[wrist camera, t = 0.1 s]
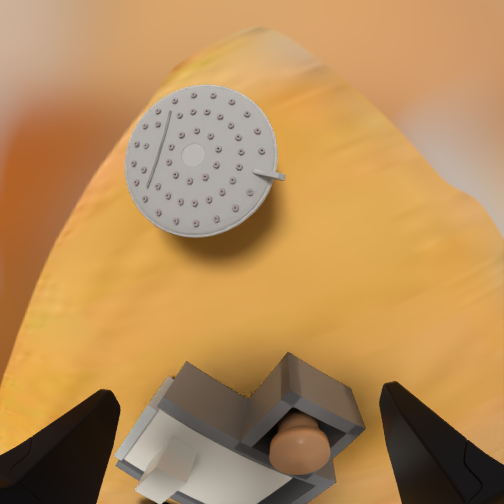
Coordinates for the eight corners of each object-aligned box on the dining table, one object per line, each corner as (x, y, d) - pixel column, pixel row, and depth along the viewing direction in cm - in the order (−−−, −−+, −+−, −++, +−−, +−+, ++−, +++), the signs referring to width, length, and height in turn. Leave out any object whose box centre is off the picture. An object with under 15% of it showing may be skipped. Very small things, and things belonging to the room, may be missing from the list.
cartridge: (241, 487, 25) (231, 544, 17) (133, 428, 25) (98, 478, 17) (292, 445, 24) (293, 510, 16) (168, 375, 24) (129, 431, 16)
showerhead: (260, 263, 16) (100, 215, 17) (266, 248, 23) (148, 214, 24) (307, 98, 15) (145, 70, 15) (299, 132, 22) (179, 106, 23)
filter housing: (260, 495, 27) (255, 532, 21) (137, 431, 27) (115, 465, 21) (370, 399, 24) (387, 438, 18) (221, 309, 24) (204, 337, 18)
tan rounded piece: (302, 446, 21) (304, 480, 17) (261, 426, 22) (257, 461, 17) (334, 415, 21) (342, 449, 17) (292, 393, 21) (294, 427, 17)
